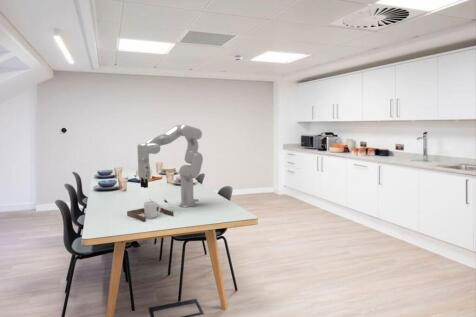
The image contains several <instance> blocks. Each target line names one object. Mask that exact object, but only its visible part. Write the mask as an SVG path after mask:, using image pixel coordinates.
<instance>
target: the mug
mask: <svg viewBox="0 0 476 317" xmlns="http://www.w3.org/2000/svg"><path fill="white" fill-rule="evenodd" d="M157 207H159V210H158V211H157ZM143 208H144V213H143V214H144V217H146V220H147V219H156V218H157V217H158V214H159V213H161V212H160V210H161V208H162V207H161V205H160V204H159V203H157V201H153V200H150V201H144V202H143Z"/></svg>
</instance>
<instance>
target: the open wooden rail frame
mask: <svg viewBox="0 0 476 317" xmlns="http://www.w3.org/2000/svg"><path fill="white" fill-rule="evenodd" d="M158 210H159V207H158V206H157V211H158ZM159 213H161V214H165V215H168V216H171V217H174V211H173V210H170V209H166V208H164V207H161V210H160V212H159ZM141 214H144V207H143V208H137V209H132V210H127V211H126V216H128V217H130V218H133V219H135V220H139V221H140V222H143V223H146V222H147V218H146V217H145V216H143V215H141Z"/></svg>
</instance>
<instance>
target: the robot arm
mask: <svg viewBox="0 0 476 317" xmlns="http://www.w3.org/2000/svg"><path fill="white" fill-rule="evenodd" d="M202 136H203V132H202V130H201V129H199V128H198V127H193V126H191V125H188V124H176V125H174V126H173V127H171V128H170V129H169V130H167V131H166V132H164V133H161V134H160V135H157V136H156V137H153V138H151V139H149V140H148V141H146V142H145V143H138V144H137V146H136V147H137V165H138V166H137V176H138V178H139V181H140V188H143V189H148V188H149V180H150V178H151V166H150V154H151V155H152V154H154V155H156V154H159V153H160V151H161V146H164V145H170V144H172V143H173V142H174V141H176V140H177V139H178V138H180V137H184V138H185V140H186V142H187V147H186V150H185V154H184V161H185V163H187V164H183V165H181V166H180V168H179V170H178V173H179V178H180V198H181V199H180V200H181V201H180V203H179V207H182V208H190V207H194V206H196V203H197V202H199V201H200V200H199V198H194V180H193V179H197V178H198V177H199V176H200V173H201V170H202V166H203V160H204V158H203V154H202V153H201V152H200V151H198V150H199V141H198V140H200V139H201V138H202Z"/></svg>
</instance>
